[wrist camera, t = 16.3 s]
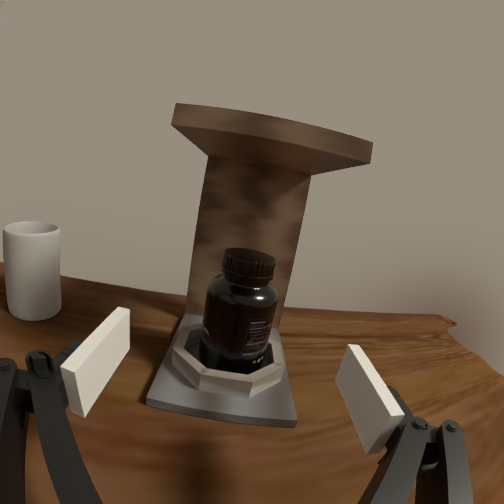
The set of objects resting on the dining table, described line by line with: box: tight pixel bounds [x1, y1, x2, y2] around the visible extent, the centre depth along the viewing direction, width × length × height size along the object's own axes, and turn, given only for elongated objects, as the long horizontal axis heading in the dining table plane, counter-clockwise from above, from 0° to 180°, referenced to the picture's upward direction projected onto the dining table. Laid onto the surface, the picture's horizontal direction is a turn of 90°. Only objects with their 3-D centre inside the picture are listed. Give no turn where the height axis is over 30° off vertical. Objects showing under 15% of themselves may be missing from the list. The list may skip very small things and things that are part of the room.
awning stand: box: [146, 103, 373, 428], centre depth 28 cm, size 13×20×24 cm, turn 1°
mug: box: [3, 221, 62, 321], centre depth 30 cm, size 12×8×11 cm
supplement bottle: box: [199, 248, 278, 375], centre depth 27 cm, size 7×7×12 cm
